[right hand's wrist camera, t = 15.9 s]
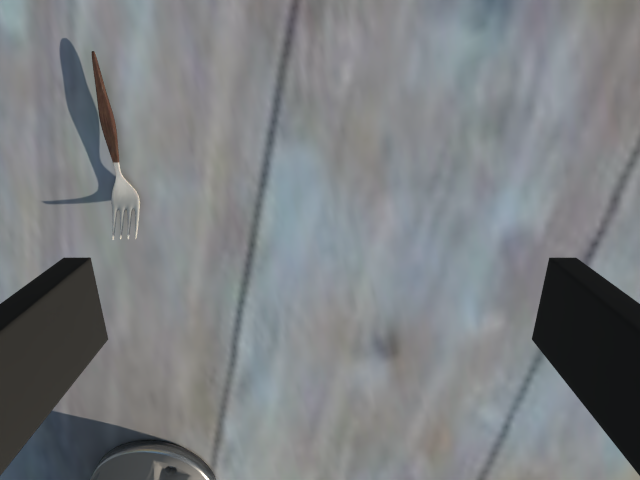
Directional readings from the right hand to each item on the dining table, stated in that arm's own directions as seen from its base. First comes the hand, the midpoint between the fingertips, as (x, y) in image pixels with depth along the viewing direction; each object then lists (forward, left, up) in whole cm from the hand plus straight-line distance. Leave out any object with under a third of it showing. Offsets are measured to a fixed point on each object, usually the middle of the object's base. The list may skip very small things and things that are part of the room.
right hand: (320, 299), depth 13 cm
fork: (-18, +4, -28) cm, 33 cm away
